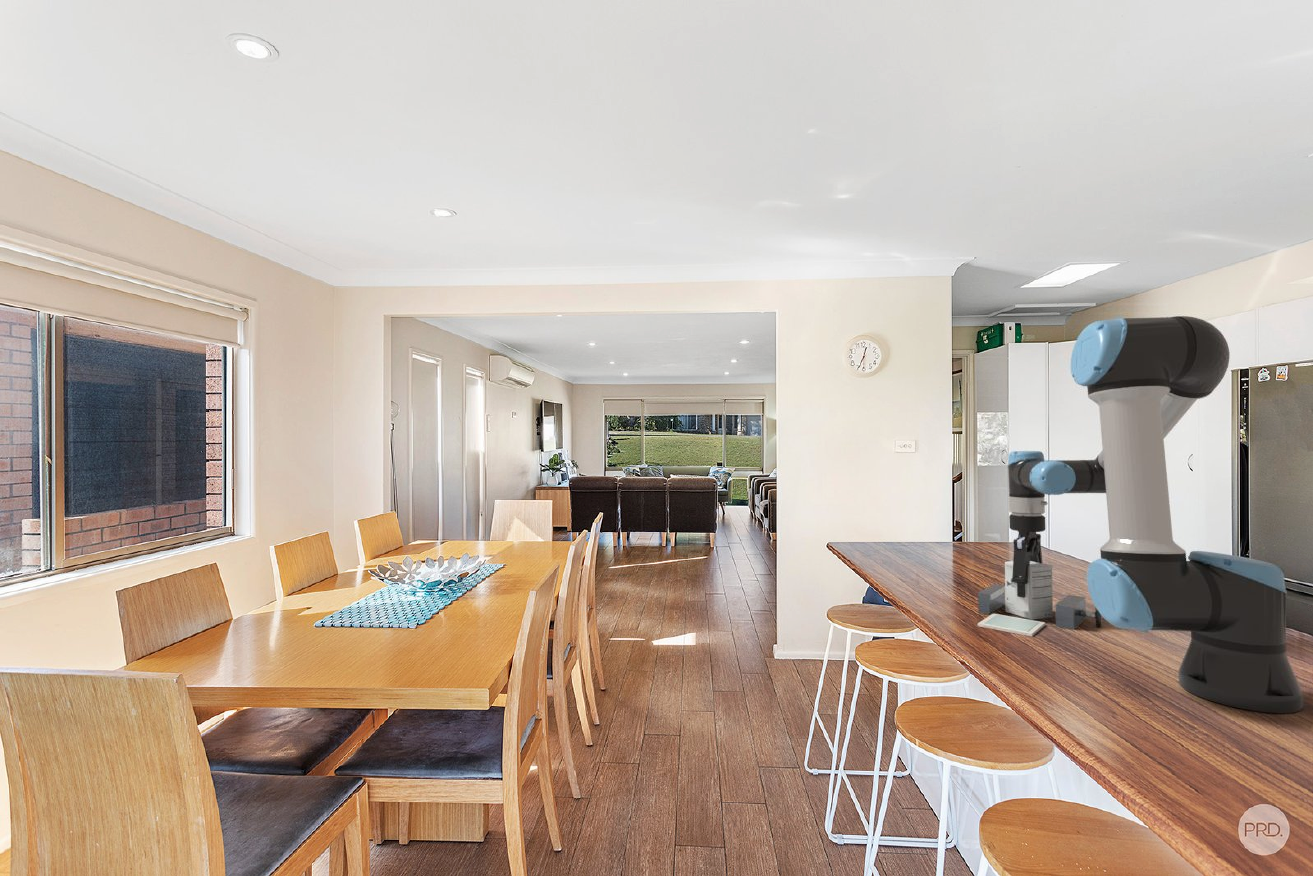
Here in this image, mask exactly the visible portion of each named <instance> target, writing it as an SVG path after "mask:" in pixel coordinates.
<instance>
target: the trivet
mask: <svg viewBox="0 0 1313 876" xmlns="http://www.w3.org/2000/svg"><path fill="white" fill-rule="evenodd" d="M1045 626H1046V622H1044V621H1038V620H1034V619H1033V620H1030V619H1028V618H1023V617H1021V618H1020V617H1015V616H1010V615H1009V616H1008V615H1003V614H999V613H991V614H990V615H988V616H987V617H985V618H984V619H982V620H981V621H979V622H978V623H977V627H980V628H981V627H982V628H985V629H991V630H997V631H1001V632H1007V633H1012V634H1016V635H1022V636H1027V637H1033V636H1035V635H1036V633H1038V632H1039V631H1040V630H1042V629H1043V628H1044V627H1045Z"/></svg>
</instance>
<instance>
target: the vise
mask: <svg viewBox="0 0 1313 876" xmlns="http://www.w3.org/2000/svg"><path fill="white" fill-rule="evenodd" d="M977 597H978V598H977V604H978V606H977V607H978V613H979V614H982V615H988V616H990V615H992V614H994V613H995V612H996V611H997V610H999V609H1001V608H1002V607H1004V606H1005V585H1003V584H997V583H996V584H995V583H993V584H991V585H990V586H988V587H986V588H984V589H982V590H980V591H978V592H977ZM1086 600H1087V598H1086V596H1081V595H1073V594H1072V595H1071V594H1067V595H1065V596H1064V597H1062V598H1061V599H1060V600H1058V601H1057V602H1055V603H1054V611H1055V627H1058V628H1062V629H1063V628H1064V629H1069V630H1073V631H1074V630H1075V629H1076V628H1077V627H1079V626H1080V624H1081V623H1083V622H1084V620H1085V619H1087V618H1091V619H1095V627H1096V628H1102V616H1101V614H1100V613H1099V611H1098V610H1097V609H1096V607H1095V606H1094V608H1095V611H1089V610H1087V609H1086V605H1087V604H1086V602H1087V601H1086Z"/></svg>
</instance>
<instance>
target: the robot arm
mask: <svg viewBox="0 0 1313 876" xmlns="http://www.w3.org/2000/svg"><path fill="white" fill-rule="evenodd" d="M1229 364H1230V349H1229V343H1228V341H1227V339H1226V338H1225V336H1224V334H1223V333H1222V332H1221V331H1220V330H1219V329H1218V328H1217V327H1216V326H1215V325H1213V324H1212V323H1210V322H1208V321H1206V320H1204V319H1201V318H1198V317H1194V316H1187V315H1183V316H1182V315H1181V316H1180V315H1177V316H1169V317H1168V316H1163V317H1128V318H1125V317H1124V318H1123V317H1117V318H1114V319H1103V320H1098V321H1097V320H1096V321H1093V322H1092V323H1090V324H1088V325H1087V326H1086V327H1084V329H1083V330H1082V331H1081V333H1080V334H1079V335H1078V337H1077V339H1076V341H1075V342H1074V346H1073V349H1072V352H1071V357H1070V372H1071V373H1070V374H1071V376H1072V378H1073V381H1074V382H1075V383H1076V384H1077V385H1079V386H1081V387H1087V396H1088V397H1087V398H1088V399H1090V400H1091V401H1093V402H1094V403H1095V404H1096V405H1098V408H1099V422H1100V431H1101V432H1100V433H1101V445H1102V447H1101V448H1102V450H1101V452H1100V453H1099V454H1098V455H1097V456H1096V458H1095V459H1078V460H1077V459H1075V460H1074V459H1072V460H1071V459H1068V460H1065V459H1062V460H1060V459H1058V460H1057V459H1056V460H1047V459H1045V456H1044V453H1043V452H1042V451H1039V450H1014V451H1011V452H1009V454H1008V461H1007V462H1008V463H1007V471H1008V474H1007V475H1008V476H1007V477H1008V511H1009V512H1010V514H1009V515H1008V516H1009V517H1008V519H1009V524H1008V525H1009V529H1010V530H1012V531H1016V532H1018V535H1017V537H1016V539H1015V538H1014V539H1013V541H1012V542H1013V559H1012V561H1013V575H1012V579H1011V582H1015V588H1016V610H1022V611H1028V612H1029V611H1030V605H1029V584H1028V567H1029V565H1030V561H1033V562H1038V563H1042V564H1044V563H1043V555H1042V553H1043V552H1042V544H1041V542H1042V541H1041V540H1042V539H1041V537H1042V535H1041V533H1042V532H1045V531H1046V516H1044V514H1045V513H1046V507H1045V506H1047V505H1048V502H1047V501H1046V500H1045V496H1046V495H1048V496H1061V495H1063V494H1106V495H1105V496H1106V506H1107V507H1106V508H1107V519H1108V522H1107V523H1108V532H1109V539H1108V541H1107V542H1105V543H1104V544H1103V545H1102V546H1101V547H1100V548H1099V550H1100V558H1098V559H1095V560H1093V561H1092V562H1090V564H1089V565H1088V570H1087V572H1086V584H1087V590H1088V593H1089V597H1090V598H1091V601H1092V604H1094V608H1095V607H1096V609H1097V610H1098V611H1099V613H1100V614H1101V618H1103V619H1104V620H1105V621H1106V622H1108V623H1109V624H1110V625H1112V626H1113V627H1116V628H1119V629H1124V630H1134V631H1135V630H1136V631H1141V632H1150V631H1165V632H1166V631H1167V632H1169V631H1170V632H1171V631H1172V632H1190V643H1189V645H1188V647H1187V649H1186V652H1185V653H1184V656H1183V659H1182V660H1181V664H1180V666H1179V669H1178V684H1179V686H1180V687H1181V688H1182V689H1184V690H1185V691H1187V692H1188V693H1191V694H1192V695H1195V696H1197V697H1200V698H1202V699H1205V700H1206V701H1207V700H1208V701H1211V702H1214V703H1217V704H1220V705H1225V706H1228V707H1231V708H1232V707H1233V708H1238V709H1242V710H1247V711H1254V712H1262V713H1269V714H1270V713H1273V714H1290V713H1296V712H1297V713H1298V712H1299V711H1301V710H1303V709H1304V694H1303V691H1302V688H1301V686H1300V684H1299V681H1298V679H1297V677H1296V675H1295V672H1294V670H1293V668H1292V666H1291V663H1290V661H1289V659H1288V655H1287V625H1286V624H1287V619H1286V614H1287V613H1286V595H1287V594H1288V591H1287V589H1286V583H1285V573H1284V572H1283V570H1282V569H1281V568H1280V567H1279V566H1277V565H1276V564H1273V563H1272V562H1267V561H1265V560H1260V559H1259V560H1258V559H1254V558H1249V557H1244V556H1238V555H1234V554H1233V555H1232V554H1226V553H1221V552H1220V553H1219V552H1212V551H1204V550H1203V551H1202V550H1191V551H1189V556H1187V553H1186V550H1185V549H1184V548H1182V547H1181V546H1180V545H1179V544H1177V543H1176V542H1175V541H1174V538H1173V537H1174V536H1173V528H1172V525H1173V524H1172V516H1171V506H1170V495H1169V483H1168V474H1167V473H1168V472H1167V471H1168V470H1167V463H1166V452H1165V449H1166V448H1165V441H1164V439H1165V438H1166V437H1167V436H1168V434H1170V432H1171V431H1172V430H1173V429H1174V427H1176V425H1177V423H1179V422H1180V420H1181V419H1182V418H1183V417H1184V415H1186V413H1187V412H1188V411H1189V410H1190V409H1191V407H1193V405H1194V404H1195V402H1197V400H1201V399H1203V398H1206V397H1208V396H1210V395H1211V394H1212V393H1213V392H1214V391H1215V389H1216V388H1217V387H1218V386H1219V384H1221V382H1222V380H1223V379H1224V377H1225V375H1226V372H1227V371H1228V368H1229ZM1019 576H1021V577H1019Z"/></svg>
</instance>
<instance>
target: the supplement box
mask: <svg viewBox="0 0 1313 876" xmlns="http://www.w3.org/2000/svg"><path fill="white" fill-rule="evenodd" d="M1042 563H1043V562H1042ZM1042 563H1038V562H1033V561H1030V565H1029V567H1028V584H1029V605H1030V611H1029V612H1028V611H1022V610H1016V588H1015V582H1011V579H1012V575H1013V560H1010V561H1005V562H1004V584H1005V585H1004V586H1005V605H1004V606H1005V608H1004V609H1005V610H1004V611H1005V613H1009V614H1012V615H1015V616H1019V617H1021V618H1024V619H1028V620H1033V621H1034V620H1042V619H1047V618H1053V615H1054V614H1053V611H1054V609H1053V602H1054V601H1053V565H1052V564H1047V563H1043V564H1042ZM1019 577H1021V576H1019Z"/></svg>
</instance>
